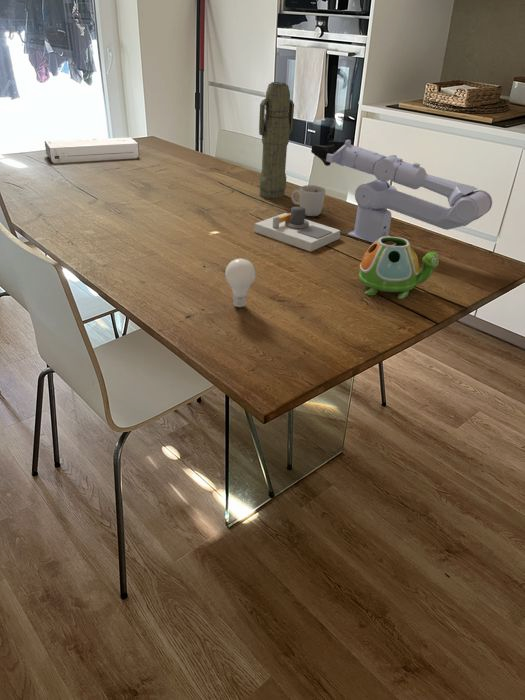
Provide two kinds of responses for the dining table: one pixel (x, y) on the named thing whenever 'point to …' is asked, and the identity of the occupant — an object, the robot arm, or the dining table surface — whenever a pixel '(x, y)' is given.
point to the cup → (310, 199)
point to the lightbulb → (240, 279)
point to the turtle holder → (394, 267)
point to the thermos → (275, 139)
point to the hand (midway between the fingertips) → (320, 146)
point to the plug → (297, 218)
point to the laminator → (92, 150)
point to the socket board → (299, 234)
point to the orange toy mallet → (280, 220)
